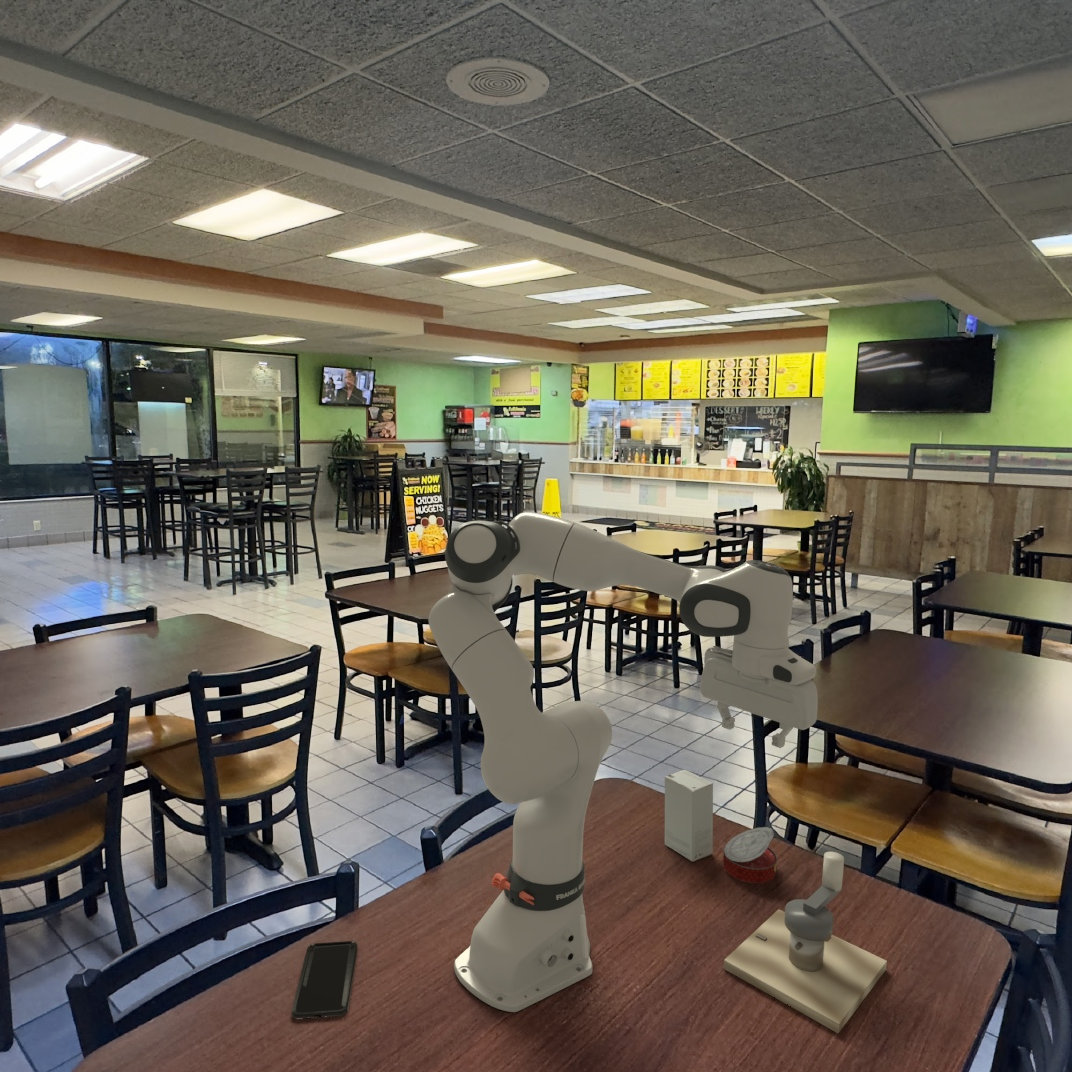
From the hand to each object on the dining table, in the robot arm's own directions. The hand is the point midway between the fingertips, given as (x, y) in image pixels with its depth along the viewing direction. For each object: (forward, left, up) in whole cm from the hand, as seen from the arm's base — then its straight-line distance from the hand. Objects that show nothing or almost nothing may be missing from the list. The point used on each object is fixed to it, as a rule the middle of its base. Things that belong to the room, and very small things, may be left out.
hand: (752, 736), depth 129 cm
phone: (-61, +35, -32) cm, 77 cm away
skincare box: (+9, +17, -32) cm, 37 cm away
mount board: (-7, -15, -32) cm, 35 cm away
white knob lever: (-4, -15, -24) cm, 29 cm away
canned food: (+12, +5, -32) cm, 35 cm away
